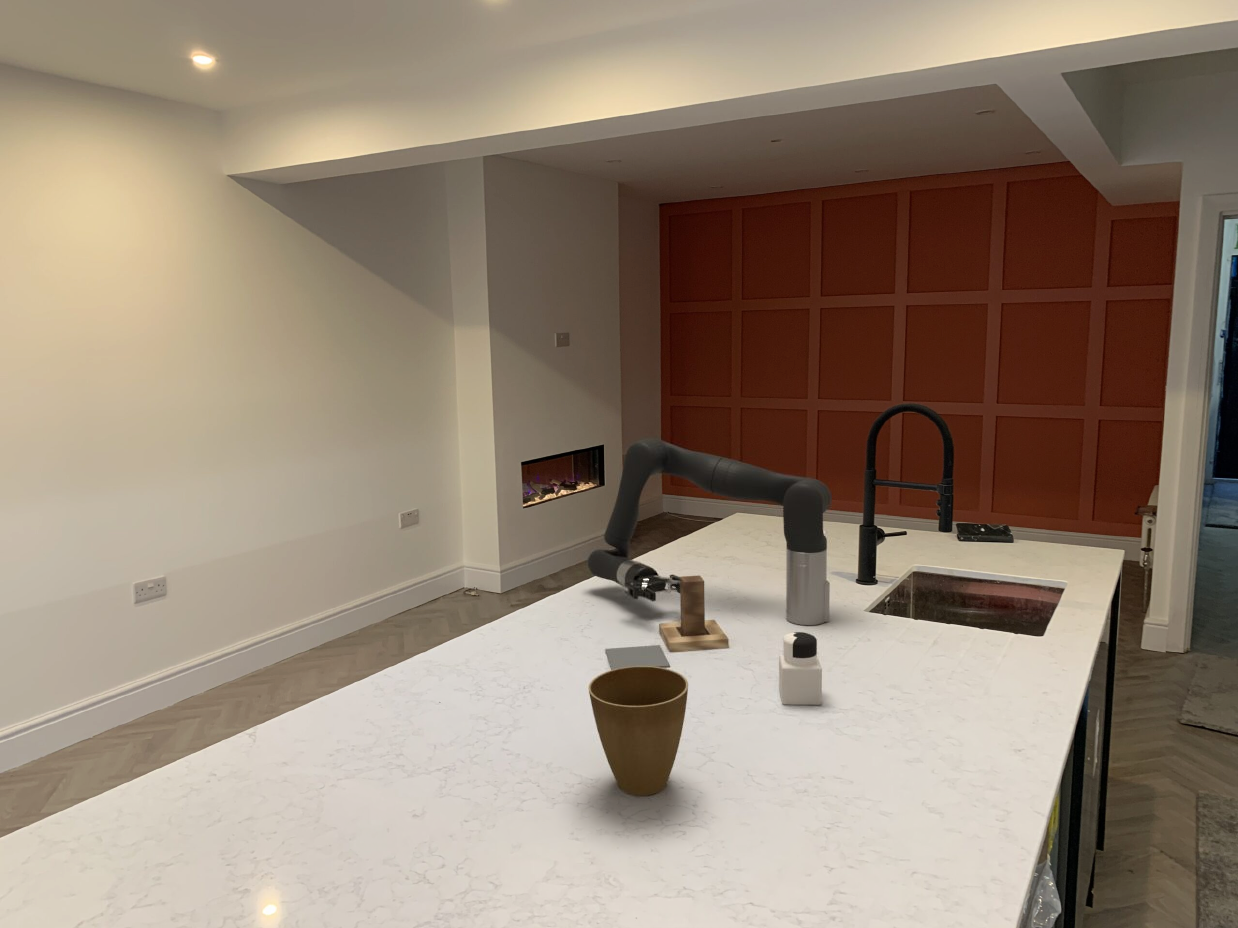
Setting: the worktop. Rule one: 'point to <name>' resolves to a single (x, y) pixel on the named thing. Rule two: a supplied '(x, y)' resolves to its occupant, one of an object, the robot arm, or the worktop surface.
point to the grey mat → (637, 657)
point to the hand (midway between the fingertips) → (670, 594)
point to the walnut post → (692, 606)
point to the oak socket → (693, 637)
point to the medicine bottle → (800, 670)
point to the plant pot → (640, 724)
